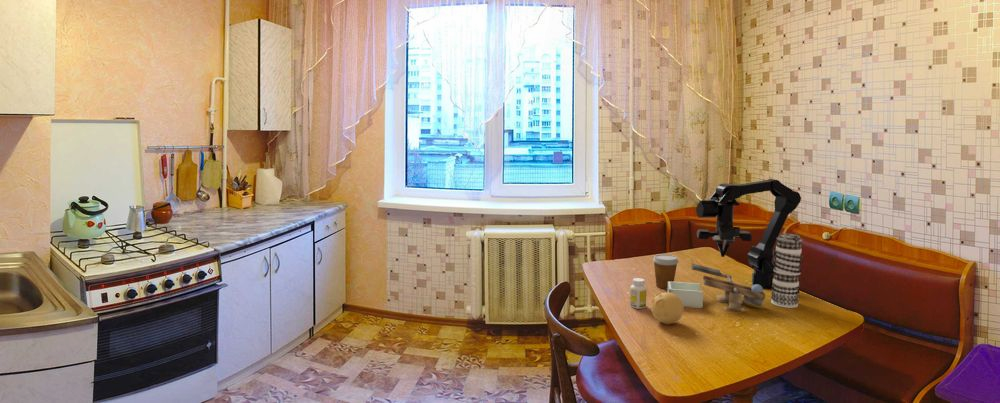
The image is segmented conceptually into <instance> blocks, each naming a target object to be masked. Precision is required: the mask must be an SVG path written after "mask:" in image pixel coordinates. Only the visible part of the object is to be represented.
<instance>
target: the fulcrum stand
mask: <svg viewBox="0 0 1000 403" xmlns="http://www.w3.org/2000/svg"><path fill="white" fill-rule="evenodd" d="M716 299H717V301H718V302H719V303H728V306H724V310H725V311H733V312H745V307H742V305H743V304H744V299H743V295H742V294H741V293H733V292H729V291H725V290H723V295H720V294H719V295H718V294H717V295H716Z"/></svg>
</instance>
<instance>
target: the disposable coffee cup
mask: <svg viewBox="0 0 1000 403" xmlns="http://www.w3.org/2000/svg"><path fill="white" fill-rule="evenodd" d="M652 262H653V265H654V277H655V286H656V287H657V288H659V289H663V290H667V289H668V281H671V282H675V276H676V271H677V267H678V266H677V265H678V263H679V259H678V257H677V255H673V254H668V253H667V254H666V253H665V254H664V253H660V254H659V253H658V254H655V255H654V256H653V259H652Z"/></svg>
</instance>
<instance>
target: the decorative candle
mask: <svg viewBox="0 0 1000 403" xmlns="http://www.w3.org/2000/svg"><path fill="white" fill-rule="evenodd" d="M776 238H777V240H776V245H775V248H773V260H772V263H773V265H774V266H775V267H774V268H773V271H774V272H775V274H773V283H772V286H773V287H772V289H771V290H772V291H771V292H770V299H771V300H770V301H771V302H770V303H771V304H773V305H774V306H776V307H779V308H790V309H791V308H792V309H793V308H795V309H796V308H797V307H798V306H799V302H800V301H799V299H800V296H799V294H800V289H801V288H800V287H801V286H800V281H799V279H800V275H801V273H802V270H801V269H802V268H803V266H802V265H801V264H802V263H803V258H804V256H803V255H802V250H803V248H802V245H803V244H802V243H803V241H804V239H802V238H801V236H800V235H798V234H796V233H789V232H784V233H780V234H779V236H778V237H776Z"/></svg>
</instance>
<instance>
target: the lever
mask: <svg viewBox="0 0 1000 403" xmlns="http://www.w3.org/2000/svg"><path fill="white" fill-rule="evenodd" d="M691 270H692V271H696V272H700V273H704V274H707V275H703V277H702V279H701V280H702V284H703V286H707V287H710V288H711V287H712V288H715V289H718V290H722V291H724V290H725V291H729V292H733V293H741V294H742V300H743V302H745V303H746V304H749V305H753V306H757V307H762V306H763V302H764V301H765V298H766V294H765V292H764V291H763V292H762V293H757V292H753V291H752V289H751V288H752V286H746V285H743V284H739V283H735V282H734V281H733V280H732V278H733V276H732V275H730V274H727V273H726V274H725V273H722V272H721V270H719V269H717V268H716V269H715V268H712V267H708V266H703V265H700V264H697V263H691ZM708 274H709V275H713V276H716V277H719V278H715V277H712V276H708ZM720 277H721V278H724V279H726V280H724V279H720Z"/></svg>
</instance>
